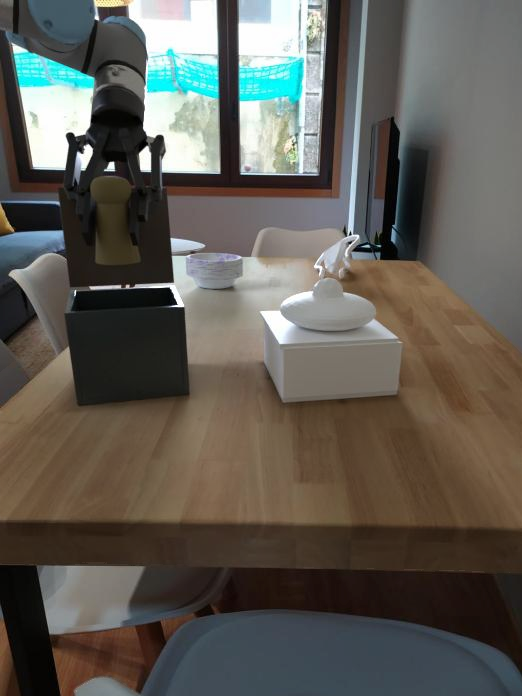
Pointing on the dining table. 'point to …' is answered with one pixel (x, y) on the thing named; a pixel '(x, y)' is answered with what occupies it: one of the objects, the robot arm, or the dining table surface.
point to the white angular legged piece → (337, 257)
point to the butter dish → (329, 347)
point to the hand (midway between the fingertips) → (110, 238)
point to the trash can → (127, 344)
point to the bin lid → (147, 271)
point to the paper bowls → (214, 269)
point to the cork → (113, 221)
